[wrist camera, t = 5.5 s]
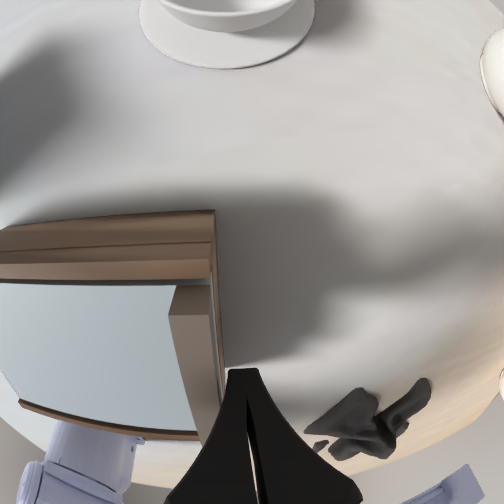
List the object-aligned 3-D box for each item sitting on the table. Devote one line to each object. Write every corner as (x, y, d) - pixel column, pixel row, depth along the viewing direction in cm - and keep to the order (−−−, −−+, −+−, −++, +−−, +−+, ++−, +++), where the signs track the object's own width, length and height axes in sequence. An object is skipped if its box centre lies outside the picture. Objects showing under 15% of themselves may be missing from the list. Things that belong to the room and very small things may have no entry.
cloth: (307, 393, 22) (324, 446, 17) (450, 352, 24) (476, 385, 18) (288, 470, 31) (295, 502, 25) (393, 442, 32) (405, 468, 27)
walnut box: (224, 368, 19) (228, 441, 13) (50, 356, 18) (22, 407, 12) (214, 209, 15) (208, 257, 9) (4, 227, 13) (-53, 264, 7)
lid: (225, 417, 14) (227, 455, 11) (24, 389, 12) (11, 414, 10) (211, 271, 10) (208, 314, 8) (-34, 272, 9) (-60, 294, 6)
